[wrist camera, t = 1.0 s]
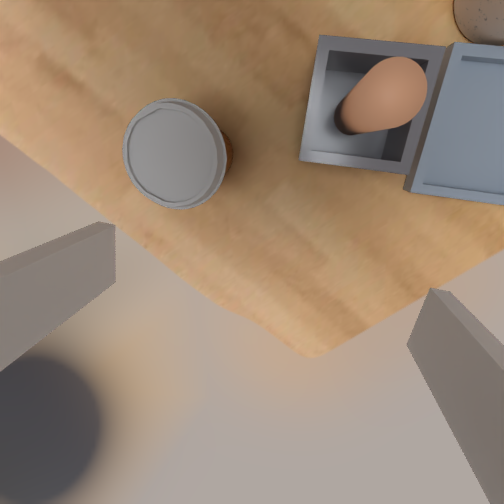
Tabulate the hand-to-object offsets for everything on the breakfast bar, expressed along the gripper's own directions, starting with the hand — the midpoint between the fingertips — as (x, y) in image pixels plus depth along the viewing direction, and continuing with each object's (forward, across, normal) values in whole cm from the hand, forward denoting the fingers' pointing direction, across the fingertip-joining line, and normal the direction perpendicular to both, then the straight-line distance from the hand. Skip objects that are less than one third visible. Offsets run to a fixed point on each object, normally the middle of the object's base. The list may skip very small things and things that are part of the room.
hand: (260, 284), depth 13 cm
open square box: (+27, +6, +9) cm, 29 cm away
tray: (+27, +19, +10) cm, 34 cm away
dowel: (+26, +6, +9) cm, 28 cm away
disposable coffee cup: (+27, -10, +2) cm, 29 cm away
